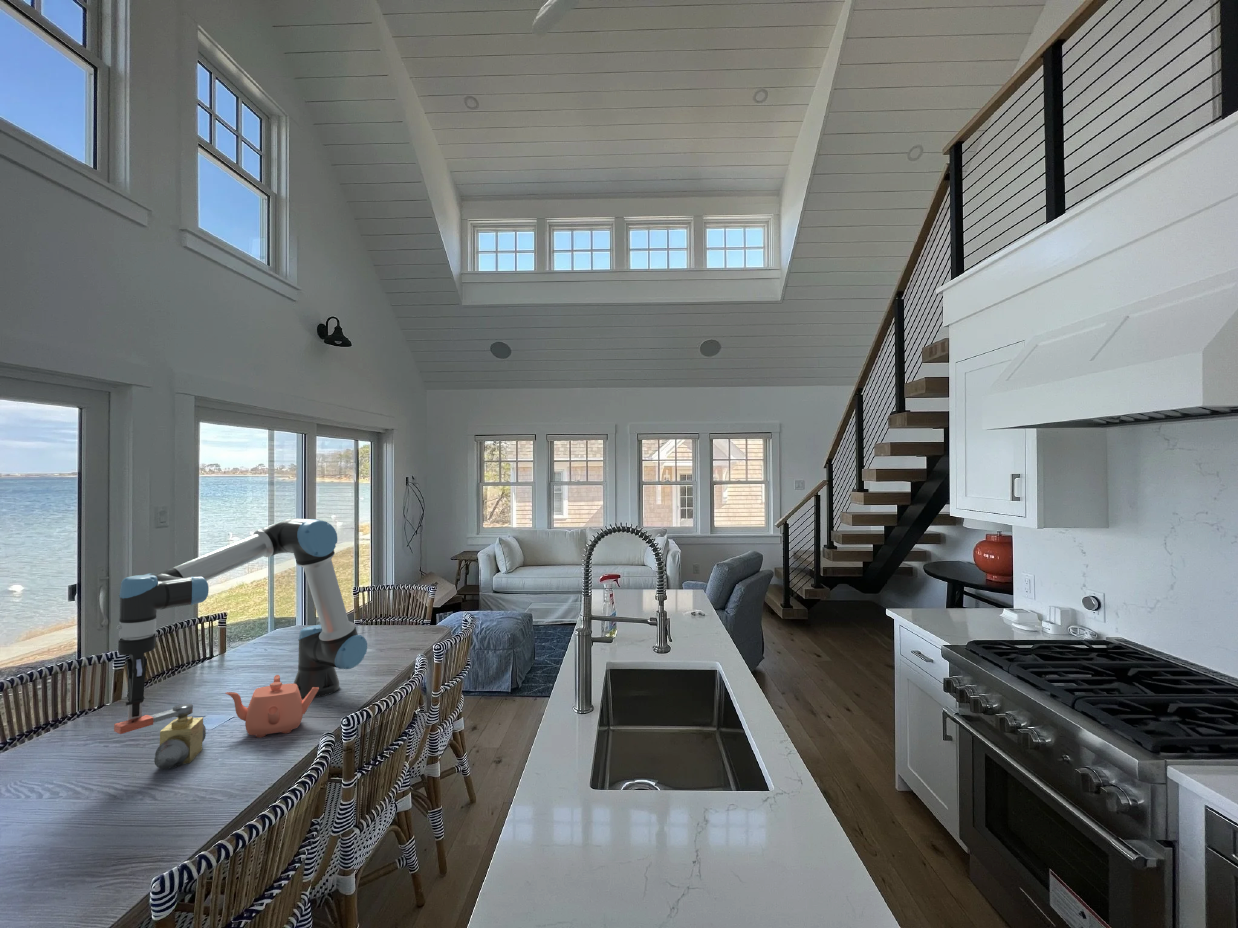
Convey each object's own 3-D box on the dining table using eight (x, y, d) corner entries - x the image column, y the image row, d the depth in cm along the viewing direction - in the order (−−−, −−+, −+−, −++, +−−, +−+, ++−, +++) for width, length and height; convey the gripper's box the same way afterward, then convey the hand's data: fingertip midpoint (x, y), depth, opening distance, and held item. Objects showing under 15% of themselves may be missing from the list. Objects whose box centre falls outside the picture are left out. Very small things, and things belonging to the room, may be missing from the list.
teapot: (222, 737, 174) (224, 689, 175) (275, 714, 192) (277, 670, 192) (271, 746, 169) (273, 697, 169) (321, 721, 187) (323, 677, 187)
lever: (187, 709, 165) (187, 702, 165) (195, 712, 162) (196, 705, 163) (113, 730, 150) (113, 723, 150) (121, 734, 148) (121, 727, 148)
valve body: (180, 744, 169) (182, 703, 169) (209, 742, 171) (211, 701, 171) (148, 775, 152) (150, 729, 152) (181, 771, 154) (183, 726, 154)
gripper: (115, 633, 157) (112, 723, 156) (121, 644, 148) (118, 740, 147) (151, 628, 162) (149, 716, 162) (159, 638, 153) (156, 731, 152)
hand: (134, 727), depth 154 cm, fingers closed
